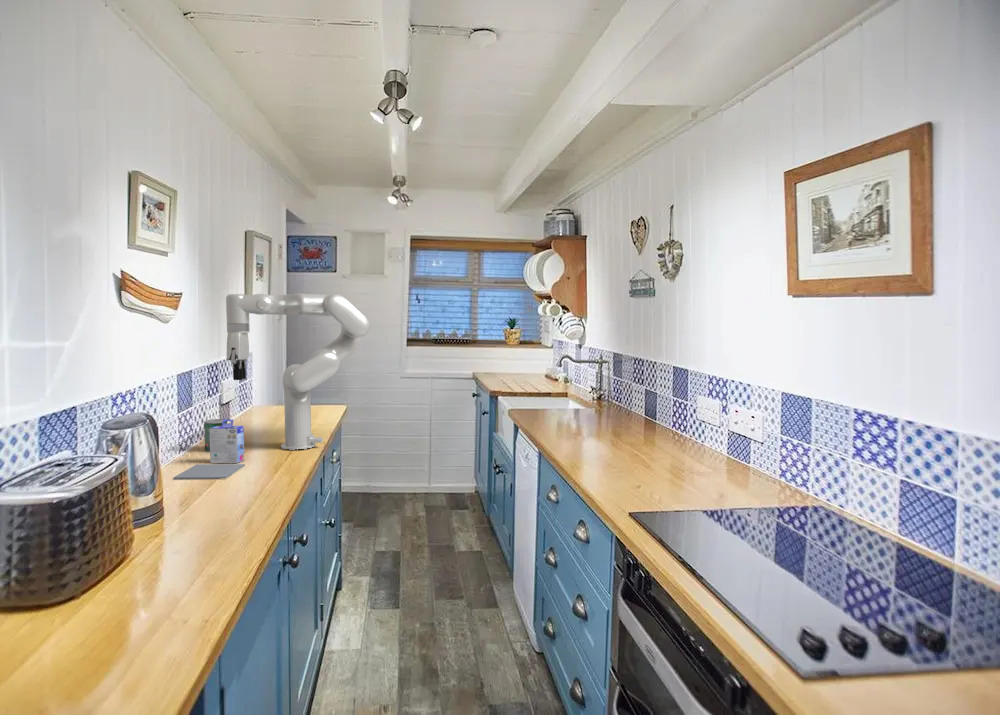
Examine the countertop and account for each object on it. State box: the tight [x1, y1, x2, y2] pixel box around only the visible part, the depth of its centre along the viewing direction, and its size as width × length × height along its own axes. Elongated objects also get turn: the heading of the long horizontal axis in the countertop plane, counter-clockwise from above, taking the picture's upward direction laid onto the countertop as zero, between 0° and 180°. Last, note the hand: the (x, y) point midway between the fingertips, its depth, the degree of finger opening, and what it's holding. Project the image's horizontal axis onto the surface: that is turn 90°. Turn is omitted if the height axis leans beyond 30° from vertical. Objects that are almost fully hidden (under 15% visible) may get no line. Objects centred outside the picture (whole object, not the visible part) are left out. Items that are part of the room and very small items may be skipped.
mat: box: [172, 463, 246, 480], centre depth 198 cm, size 16×16×1 cm
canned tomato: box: [203, 418, 228, 453], centre depth 229 cm, size 8×8×11 cm
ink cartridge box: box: [209, 418, 245, 464], centre depth 212 cm, size 10×6×14 cm, turn 89°
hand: (239, 379), depth 223 cm, fingers closed
